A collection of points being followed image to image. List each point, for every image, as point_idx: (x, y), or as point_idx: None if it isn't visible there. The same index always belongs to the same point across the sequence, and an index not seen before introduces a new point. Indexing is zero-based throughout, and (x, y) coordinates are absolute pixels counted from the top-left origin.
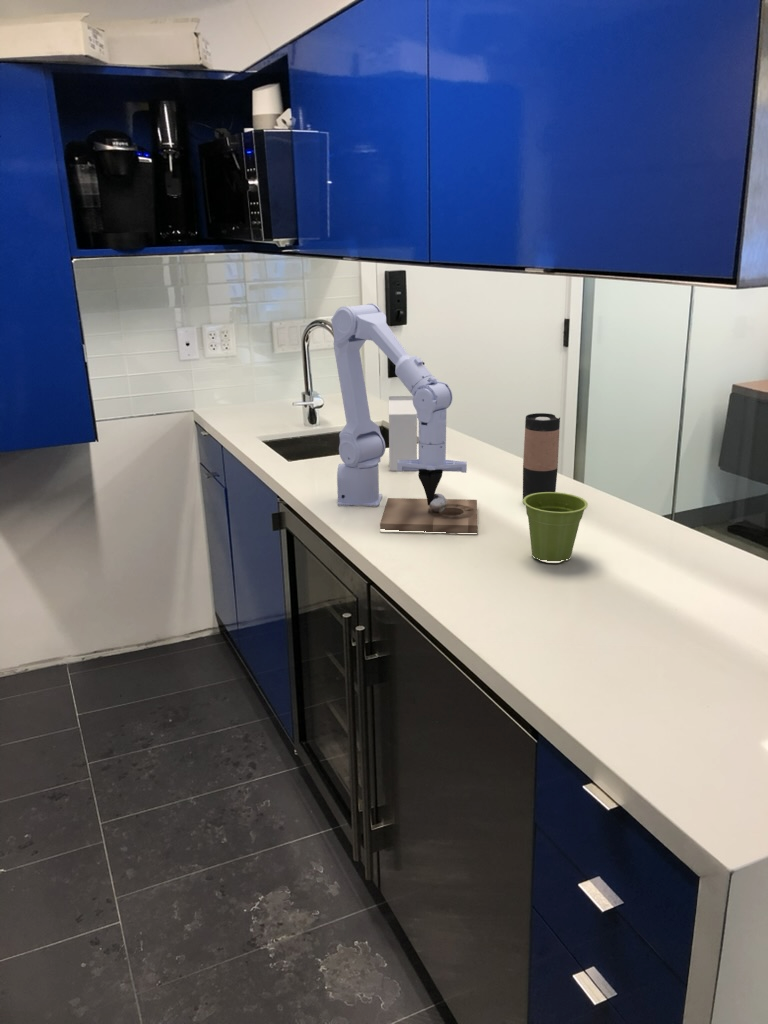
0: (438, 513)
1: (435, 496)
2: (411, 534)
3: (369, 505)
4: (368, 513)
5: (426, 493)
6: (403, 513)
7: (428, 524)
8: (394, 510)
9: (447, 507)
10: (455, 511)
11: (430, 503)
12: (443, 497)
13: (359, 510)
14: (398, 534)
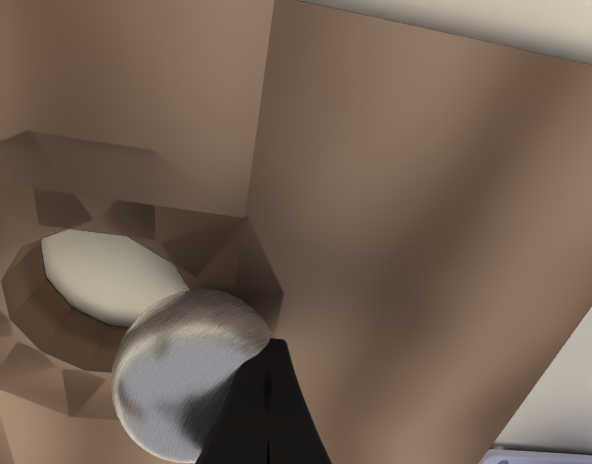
0: (203, 280)
1: (207, 408)
2: (453, 8)
3: (526, 452)
4: (563, 384)
5: (310, 433)
6: (458, 297)
7: (320, 6)
8: (494, 349)
9: None
10: (91, 348)
11: (263, 345)
12: (126, 400)
13: (584, 415)
14: (553, 22)
